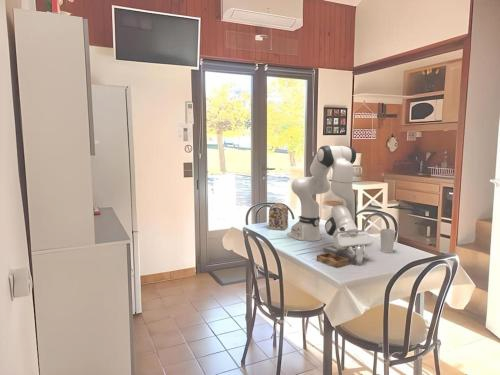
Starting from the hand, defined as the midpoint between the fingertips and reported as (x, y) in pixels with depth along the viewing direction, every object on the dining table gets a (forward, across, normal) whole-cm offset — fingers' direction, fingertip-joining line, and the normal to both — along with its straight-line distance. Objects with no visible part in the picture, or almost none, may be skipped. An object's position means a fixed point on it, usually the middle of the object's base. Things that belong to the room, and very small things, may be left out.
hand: (359, 254), depth 185 cm
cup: (-6, -28, -14) cm, 32 cm away
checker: (-11, +2, -18) cm, 21 cm away
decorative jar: (-55, +8, -62) cm, 84 cm away
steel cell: (+3, 0, -4) cm, 5 cm away
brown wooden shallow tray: (-1, +11, -8) cm, 14 cm away
